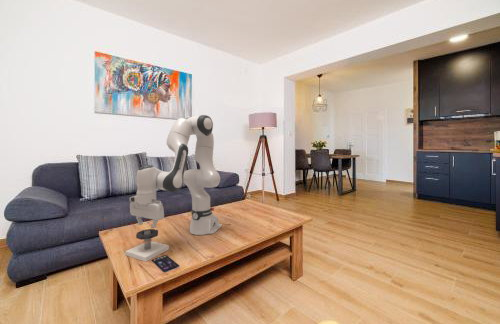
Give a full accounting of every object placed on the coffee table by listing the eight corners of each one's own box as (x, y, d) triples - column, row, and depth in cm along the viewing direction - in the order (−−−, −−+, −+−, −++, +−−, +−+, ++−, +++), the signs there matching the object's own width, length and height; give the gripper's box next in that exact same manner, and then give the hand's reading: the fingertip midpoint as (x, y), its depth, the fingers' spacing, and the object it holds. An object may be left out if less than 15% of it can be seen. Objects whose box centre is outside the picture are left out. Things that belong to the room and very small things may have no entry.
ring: (148, 230, 116) (148, 228, 116) (162, 233, 112) (162, 231, 112) (132, 237, 108) (132, 234, 108) (146, 240, 104) (145, 237, 104)
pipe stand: (149, 244, 120) (149, 225, 119) (168, 249, 114) (168, 229, 113) (125, 255, 107) (124, 234, 107) (145, 261, 101) (145, 239, 101)
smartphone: (166, 254, 108) (180, 266, 97) (166, 255, 108) (180, 267, 97) (150, 259, 103) (163, 273, 92) (150, 261, 103) (163, 274, 92)
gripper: (167, 199, 107) (167, 227, 108) (138, 195, 116) (138, 221, 117) (156, 202, 102) (156, 231, 102) (127, 197, 110) (127, 224, 111)
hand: (147, 226), depth 110 cm, fingers open, 8 cm apart
